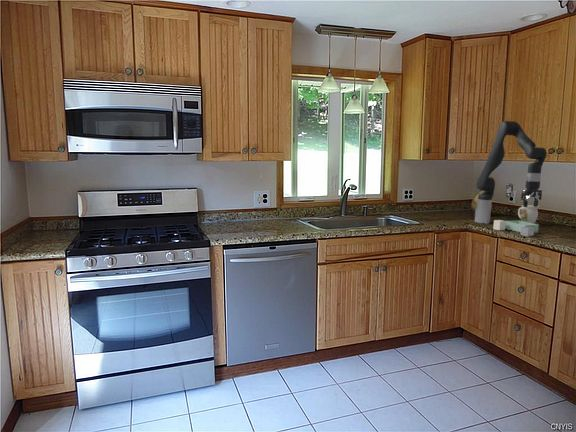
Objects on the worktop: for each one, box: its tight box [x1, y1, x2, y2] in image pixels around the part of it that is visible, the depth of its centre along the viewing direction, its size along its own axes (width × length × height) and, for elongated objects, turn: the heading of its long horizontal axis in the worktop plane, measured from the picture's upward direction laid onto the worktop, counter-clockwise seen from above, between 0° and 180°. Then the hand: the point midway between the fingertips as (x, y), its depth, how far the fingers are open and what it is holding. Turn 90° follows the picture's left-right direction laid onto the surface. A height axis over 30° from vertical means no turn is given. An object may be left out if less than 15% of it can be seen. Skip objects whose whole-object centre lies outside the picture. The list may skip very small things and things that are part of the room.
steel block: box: [520, 227, 535, 237], centre depth 253 cm, size 5×5×5 cm
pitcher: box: [517, 204, 541, 224], centre depth 297 cm, size 11×18×14 cm, turn 14°
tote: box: [505, 220, 540, 234], centre depth 267 cm, size 16×12×6 cm
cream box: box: [492, 219, 507, 231], centre depth 271 cm, size 5×5×6 cm
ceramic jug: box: [470, 190, 493, 216], centre depth 332 cm, size 17×15×30 cm
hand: (530, 206), depth 250 cm, fingers open, 8 cm apart
